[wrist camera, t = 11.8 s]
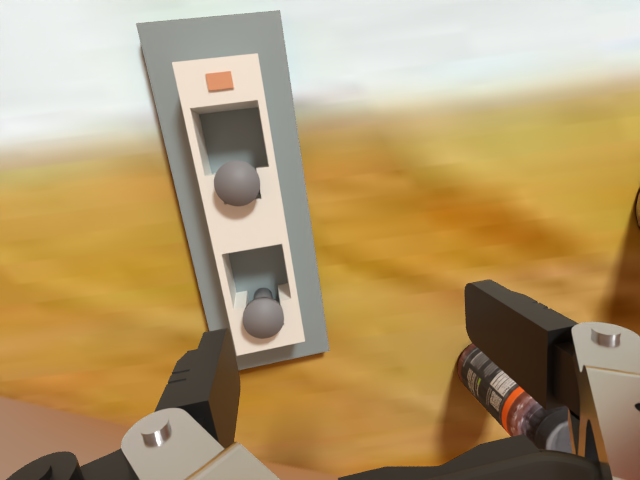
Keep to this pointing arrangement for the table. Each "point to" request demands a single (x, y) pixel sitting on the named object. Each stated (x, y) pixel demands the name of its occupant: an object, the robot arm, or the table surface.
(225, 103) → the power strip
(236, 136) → the board
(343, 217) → the table surface
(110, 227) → the table surface
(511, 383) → the supplement bottle
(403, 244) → the table surface
